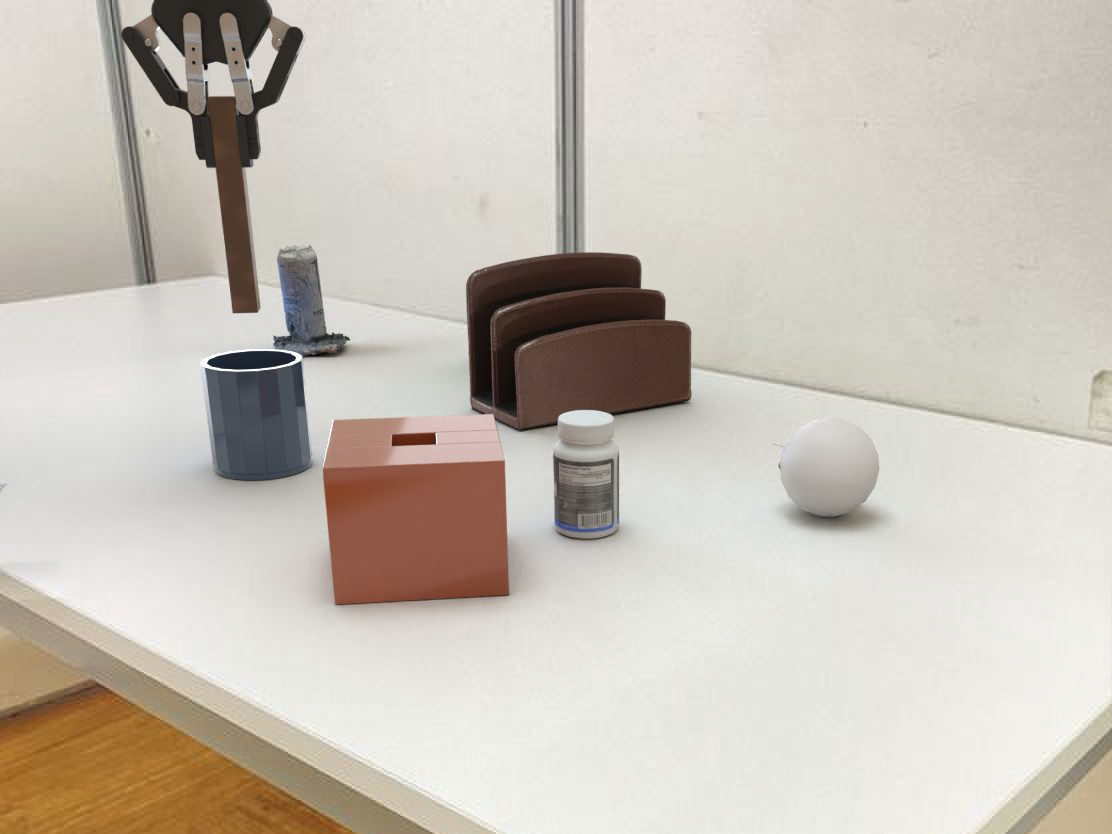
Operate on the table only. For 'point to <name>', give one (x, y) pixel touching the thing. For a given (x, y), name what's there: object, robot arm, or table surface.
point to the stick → (234, 206)
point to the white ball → (829, 467)
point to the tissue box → (416, 508)
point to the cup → (257, 413)
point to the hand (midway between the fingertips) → (229, 166)
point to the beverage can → (303, 304)
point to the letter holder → (571, 339)
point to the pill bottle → (586, 475)
